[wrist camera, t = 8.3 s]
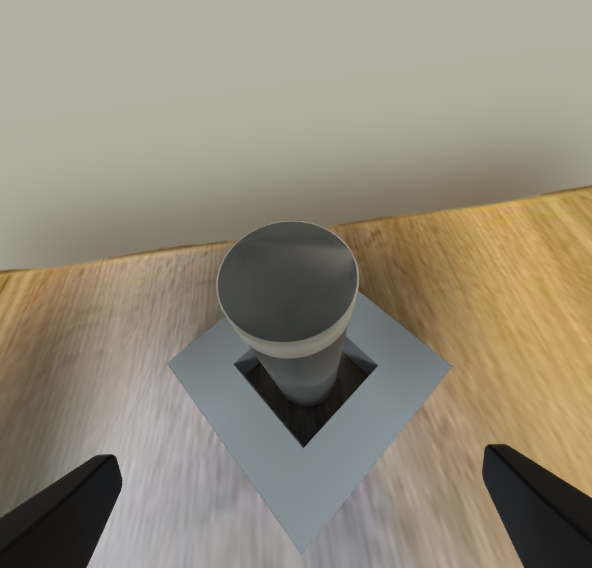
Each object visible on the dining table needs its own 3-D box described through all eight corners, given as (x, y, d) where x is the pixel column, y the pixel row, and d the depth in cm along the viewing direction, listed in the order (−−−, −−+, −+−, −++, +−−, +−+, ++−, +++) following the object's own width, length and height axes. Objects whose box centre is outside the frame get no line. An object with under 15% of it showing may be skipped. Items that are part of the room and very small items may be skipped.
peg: (322, 419, 17) (324, 371, 6) (267, 391, 18) (187, 308, 7) (344, 362, 19) (378, 243, 8) (293, 339, 20) (259, 206, 9)
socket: (305, 535, 14) (301, 555, 12) (188, 374, 19) (167, 363, 16) (433, 377, 18) (452, 366, 15) (307, 272, 22) (305, 249, 20)
